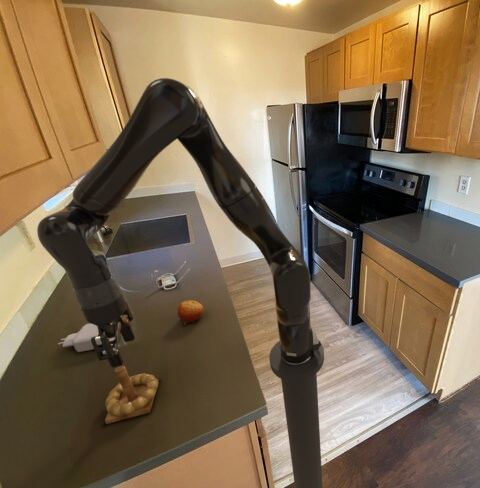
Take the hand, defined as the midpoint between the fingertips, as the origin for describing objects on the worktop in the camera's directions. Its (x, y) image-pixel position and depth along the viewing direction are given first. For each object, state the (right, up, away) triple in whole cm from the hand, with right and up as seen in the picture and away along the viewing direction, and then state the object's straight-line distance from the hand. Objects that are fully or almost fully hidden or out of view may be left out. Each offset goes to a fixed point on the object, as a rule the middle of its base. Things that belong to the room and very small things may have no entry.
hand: (124, 352), depth 67 cm
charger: (-26, -5, +21) cm, 34 cm away
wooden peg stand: (+2, -13, +1) cm, 13 cm away
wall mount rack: (-17, +10, +55) cm, 58 cm away
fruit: (+2, 0, +30) cm, 30 cm away
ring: (+2, -10, +1) cm, 11 cm away
